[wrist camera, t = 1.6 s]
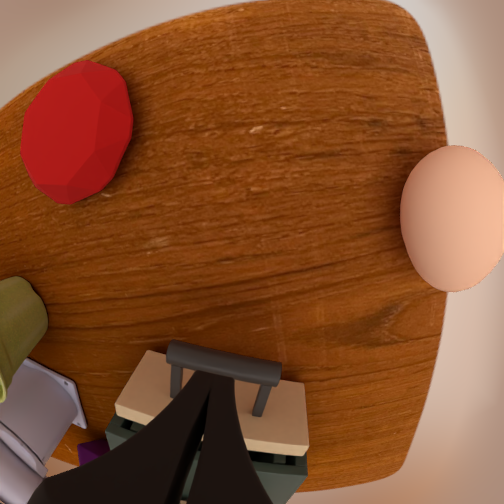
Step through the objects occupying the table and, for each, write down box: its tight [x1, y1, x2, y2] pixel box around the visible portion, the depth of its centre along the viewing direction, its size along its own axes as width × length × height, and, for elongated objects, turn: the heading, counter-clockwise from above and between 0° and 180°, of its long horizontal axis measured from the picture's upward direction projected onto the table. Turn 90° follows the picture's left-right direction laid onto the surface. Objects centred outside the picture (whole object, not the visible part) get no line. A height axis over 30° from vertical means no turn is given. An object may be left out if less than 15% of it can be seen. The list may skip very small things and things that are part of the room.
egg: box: [400, 145, 504, 292], centre depth 13 cm, size 7×7×8 cm
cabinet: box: [105, 413, 308, 504], centre depth 20 cm, size 14×13×8 cm
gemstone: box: [20, 60, 134, 204], centre depth 15 cm, size 9×9×3 cm
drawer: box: [115, 339, 309, 465], centre depth 18 cm, size 17×11×6 cm
